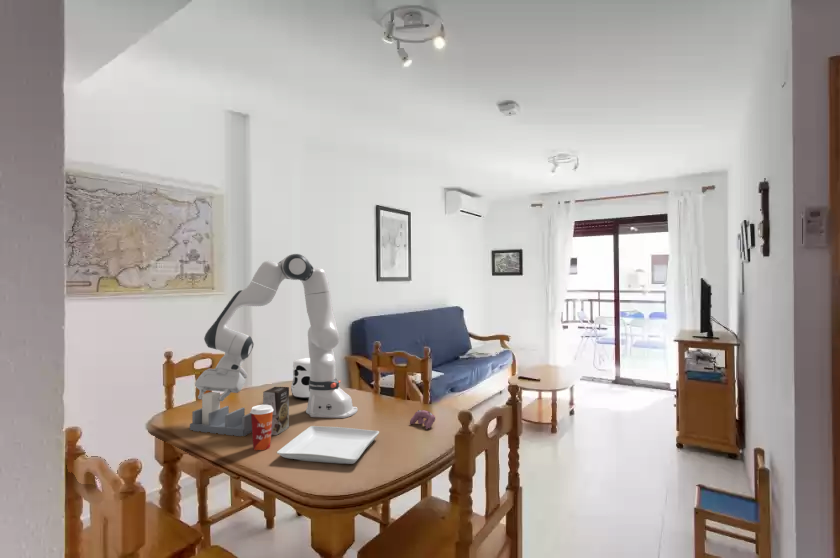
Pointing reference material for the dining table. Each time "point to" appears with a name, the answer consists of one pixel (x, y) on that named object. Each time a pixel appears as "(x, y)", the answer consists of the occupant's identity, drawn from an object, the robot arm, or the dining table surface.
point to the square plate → (329, 444)
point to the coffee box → (278, 408)
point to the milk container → (301, 378)
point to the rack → (223, 422)
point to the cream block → (209, 405)
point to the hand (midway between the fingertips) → (209, 399)
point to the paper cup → (261, 426)
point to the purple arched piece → (423, 414)
